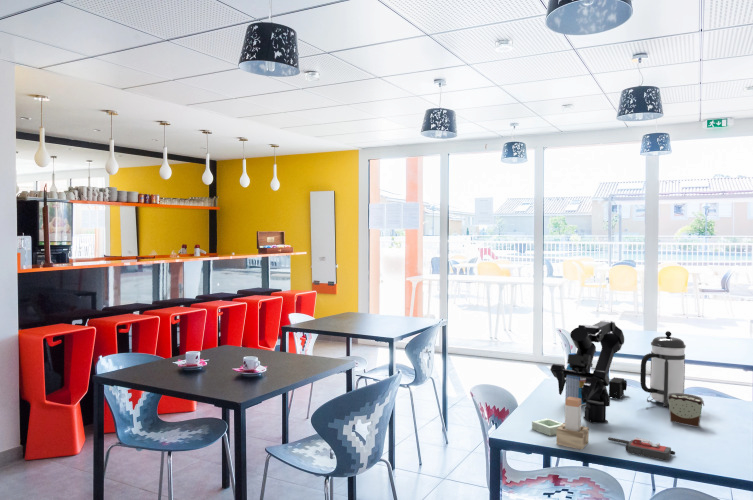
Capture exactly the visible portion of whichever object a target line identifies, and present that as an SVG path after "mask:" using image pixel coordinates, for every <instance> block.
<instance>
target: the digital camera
mask: <svg viewBox="0 0 753 500" xmlns="http://www.w3.org/2000/svg"><path fill="white" fill-rule="evenodd" d="M627 385H628V382H627V380H626V379H625V378H622V377H615V376H614V377H613V378H611V379H610V380H609V385H608V395H609V397H612V398H611V399H616V398H617V400H620V399H621V398H622V397H623V396H624V394H625V391H627ZM621 396H622V397H621Z"/></svg>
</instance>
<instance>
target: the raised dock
mask: <svg viewBox="0 0 753 500" xmlns="http://www.w3.org/2000/svg"><path fill="white" fill-rule="evenodd" d="M589 428H590V427H588V426H583V425H581V431H580V432H577V431H572V430H567V429H565V422H563V424H562V425H561V426H559V427H558V428H557V434H556V443H555V444H556V445H559V446H562V447H563V446H565V447H568V448H572V449H578V450H584V448H585V447H586V446H587V445H588V444H589V434H590V433H589V432H590V429H589Z"/></svg>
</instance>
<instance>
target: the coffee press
mask: <svg viewBox="0 0 753 500" xmlns="http://www.w3.org/2000/svg"><path fill="white" fill-rule="evenodd" d="M664 334H665V336H657V337H654V338H653V339H652V340H651V342H650V345H651V350H650V352H649V353H646V354H644V356H643V357H642V359H641V362H640V388H642V391H644V392H646V393H649V396H648V397H647V399H646V400H647V402H649V401H650V402H652V401H653V400H654V401H657V402H660V403H663V408H668V407H669V400H668V399H667V396H668V394H670V393H683V394H685V376H686V375H685V374H686V373H685V372H686V370H685V369H686V354H685V350H686V347H687V345H686V344H685V342H684V340H682V339H680V338H677V337H671V336H672V332H671V331H669V330H667V331H665V333H664ZM649 359H650V383H649V386H650V388H648V387H647V385H646V383H647V382H646V381H647V380H646V377H647V375H646V374H647V362H648V360H649ZM650 397H651V399H649V398H650Z"/></svg>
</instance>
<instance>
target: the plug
mask: <svg viewBox="0 0 753 500" xmlns="http://www.w3.org/2000/svg"><path fill="white" fill-rule="evenodd" d="M565 398H566V397H565ZM564 402H565V405H564V406H565V410H564V423H565V429H567V430H572V431H577V432H580V431H581V426H582V405H581V398H575V397H567V398H566V399H565V400H564Z"/></svg>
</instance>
